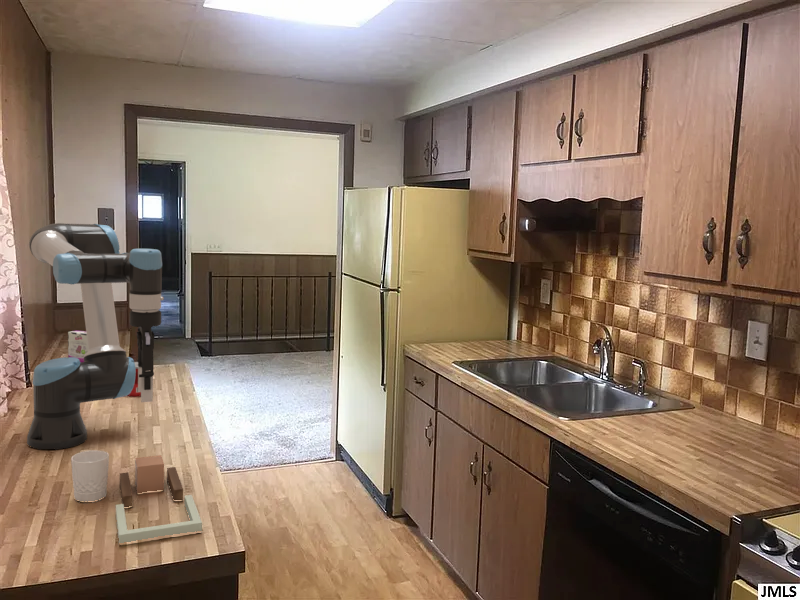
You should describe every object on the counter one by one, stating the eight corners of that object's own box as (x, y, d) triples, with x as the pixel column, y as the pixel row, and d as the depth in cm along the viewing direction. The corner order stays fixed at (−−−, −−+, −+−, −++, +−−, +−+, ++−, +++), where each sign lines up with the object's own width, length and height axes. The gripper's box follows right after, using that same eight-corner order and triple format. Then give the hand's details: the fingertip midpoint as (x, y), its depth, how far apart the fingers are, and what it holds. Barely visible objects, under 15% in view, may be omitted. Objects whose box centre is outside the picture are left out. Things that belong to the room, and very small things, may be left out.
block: (137, 494, 156) (137, 466, 155) (135, 485, 161) (135, 457, 160) (163, 491, 158) (164, 463, 157) (161, 482, 164) (161, 455, 163)
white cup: (114, 490, 157) (114, 450, 156) (100, 505, 149) (100, 463, 148) (81, 489, 157) (80, 449, 155) (65, 503, 149) (64, 461, 148)
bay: (119, 546, 132) (119, 535, 132) (115, 515, 145) (115, 504, 145) (201, 533, 139) (202, 522, 139) (191, 504, 152) (191, 494, 152)
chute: (122, 509, 148) (122, 496, 147) (119, 485, 160) (119, 473, 160) (182, 501, 154) (183, 488, 153) (175, 478, 166) (175, 466, 166)
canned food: (151, 392, 240) (151, 362, 239) (141, 397, 232) (141, 367, 231) (131, 390, 241) (131, 361, 239) (120, 396, 233) (120, 366, 232)
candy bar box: (99, 372, 263) (99, 332, 261) (90, 375, 258) (90, 334, 256) (77, 369, 266) (76, 329, 264) (67, 371, 261) (67, 331, 259)
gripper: (166, 316, 158) (165, 407, 161) (156, 303, 177) (156, 384, 180) (132, 317, 155) (132, 409, 158) (126, 303, 174) (126, 386, 177)
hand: (145, 396), depth 169 cm, fingers open, 9 cm apart
